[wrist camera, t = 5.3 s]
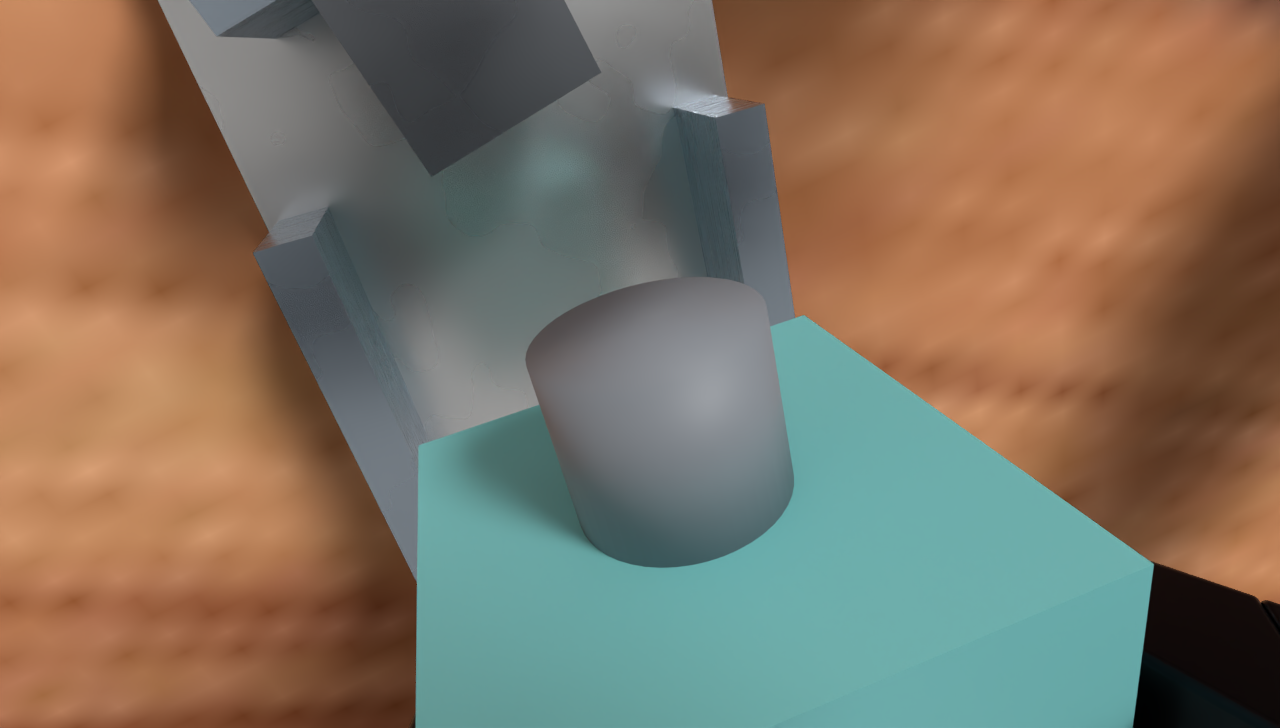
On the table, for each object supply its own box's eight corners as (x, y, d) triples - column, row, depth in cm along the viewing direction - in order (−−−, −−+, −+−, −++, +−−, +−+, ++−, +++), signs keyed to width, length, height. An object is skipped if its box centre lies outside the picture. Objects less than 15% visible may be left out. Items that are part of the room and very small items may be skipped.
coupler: (787, 187, 8) (1182, 344, 4) (851, 668, 11) (1094, 1021, 7) (361, 318, 7) (284, 681, 3) (569, 786, 10) (660, 1249, 6)
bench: (626, -368, 11) (754, -622, 7) (802, 629, 20) (898, 777, 16) (53, -264, 9) (-219, -493, 5) (525, 743, 19) (554, 933, 15)
